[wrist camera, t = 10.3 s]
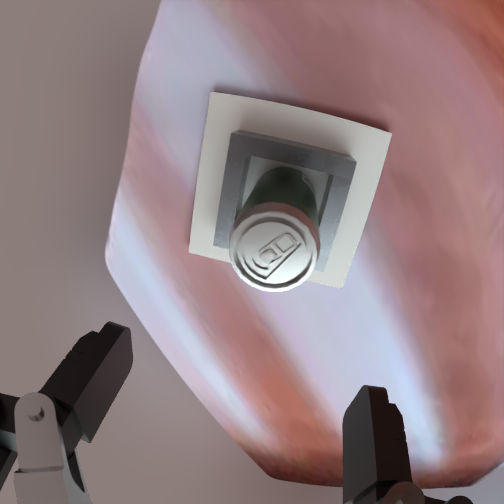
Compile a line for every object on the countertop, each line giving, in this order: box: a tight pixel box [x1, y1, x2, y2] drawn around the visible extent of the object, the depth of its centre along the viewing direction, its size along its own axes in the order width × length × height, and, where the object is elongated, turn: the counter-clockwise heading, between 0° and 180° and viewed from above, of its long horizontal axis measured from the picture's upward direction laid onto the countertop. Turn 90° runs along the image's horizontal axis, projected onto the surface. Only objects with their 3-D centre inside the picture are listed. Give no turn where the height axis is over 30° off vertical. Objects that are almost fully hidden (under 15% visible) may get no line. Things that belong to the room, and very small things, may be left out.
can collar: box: [213, 130, 357, 272], centre depth 27 cm, size 10×10×3 cm
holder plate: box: [189, 92, 392, 289], centre depth 29 cm, size 16×16×1 cm
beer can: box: [229, 167, 321, 292], centre depth 23 cm, size 5×5×12 cm
